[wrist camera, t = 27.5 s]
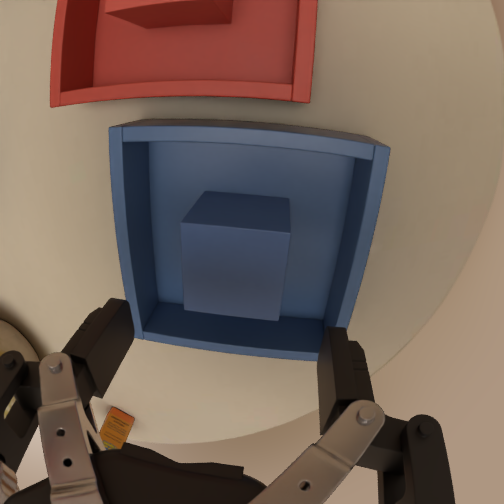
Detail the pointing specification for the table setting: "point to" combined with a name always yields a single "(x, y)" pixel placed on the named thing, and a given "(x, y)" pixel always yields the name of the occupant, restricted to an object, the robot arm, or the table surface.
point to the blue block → (235, 254)
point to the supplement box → (115, 429)
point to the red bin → (183, 54)
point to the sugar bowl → (15, 348)
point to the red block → (171, 12)
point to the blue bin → (254, 183)
